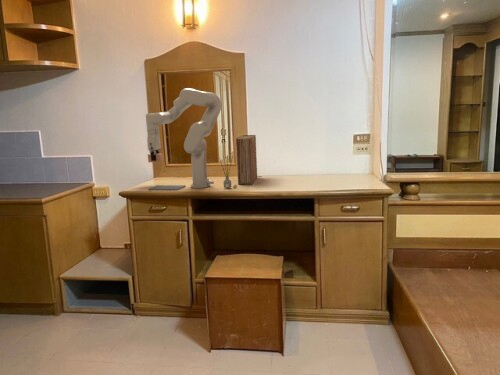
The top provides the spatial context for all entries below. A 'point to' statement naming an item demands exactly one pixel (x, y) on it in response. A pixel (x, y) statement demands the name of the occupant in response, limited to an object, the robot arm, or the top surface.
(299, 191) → the top surface
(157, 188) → the mat
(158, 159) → the card box
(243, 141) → the brown wooden block
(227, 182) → the reed diffuser
